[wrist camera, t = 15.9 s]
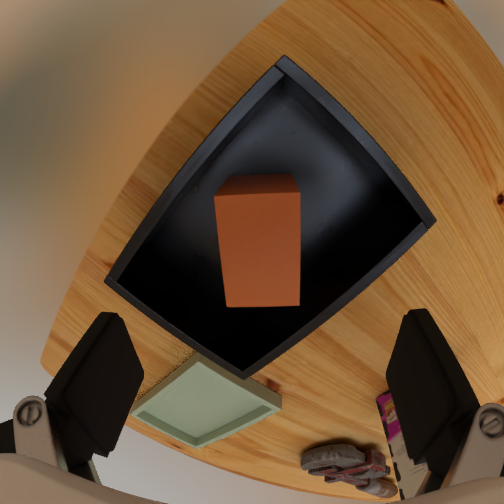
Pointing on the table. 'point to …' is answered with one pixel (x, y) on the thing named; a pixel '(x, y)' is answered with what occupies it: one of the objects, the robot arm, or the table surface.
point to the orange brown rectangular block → (260, 239)
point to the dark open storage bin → (312, 222)
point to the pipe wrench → (350, 468)
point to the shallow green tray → (204, 403)
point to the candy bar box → (400, 450)
